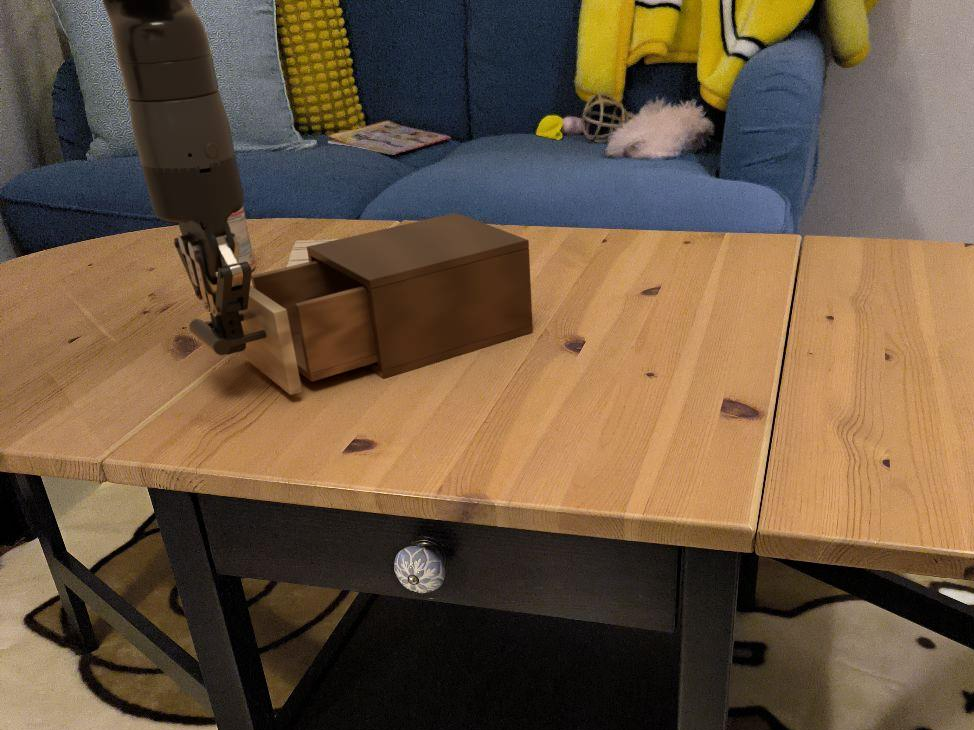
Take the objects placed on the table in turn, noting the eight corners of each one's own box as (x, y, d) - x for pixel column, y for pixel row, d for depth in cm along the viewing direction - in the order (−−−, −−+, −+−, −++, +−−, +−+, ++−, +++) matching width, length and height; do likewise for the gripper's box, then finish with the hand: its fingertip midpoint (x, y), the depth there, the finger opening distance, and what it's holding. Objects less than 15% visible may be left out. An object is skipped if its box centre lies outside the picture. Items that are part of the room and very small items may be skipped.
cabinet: (383, 378, 92) (369, 280, 87) (322, 337, 101) (306, 246, 96) (533, 332, 100) (528, 239, 95) (463, 298, 110) (456, 212, 104)
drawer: (238, 410, 85) (218, 327, 81) (191, 367, 94) (170, 289, 90) (445, 348, 95) (437, 270, 91) (385, 314, 104) (376, 241, 100)
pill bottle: (199, 270, 122) (177, 178, 115) (245, 260, 125) (226, 169, 118) (216, 282, 118) (194, 187, 111) (263, 271, 120) (244, 178, 114)
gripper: (118, 148, 82) (169, 340, 92) (168, 175, 73) (219, 384, 83) (203, 134, 86) (244, 320, 96) (261, 158, 77) (300, 361, 86)
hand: (233, 350), depth 89 cm, fingers closed
